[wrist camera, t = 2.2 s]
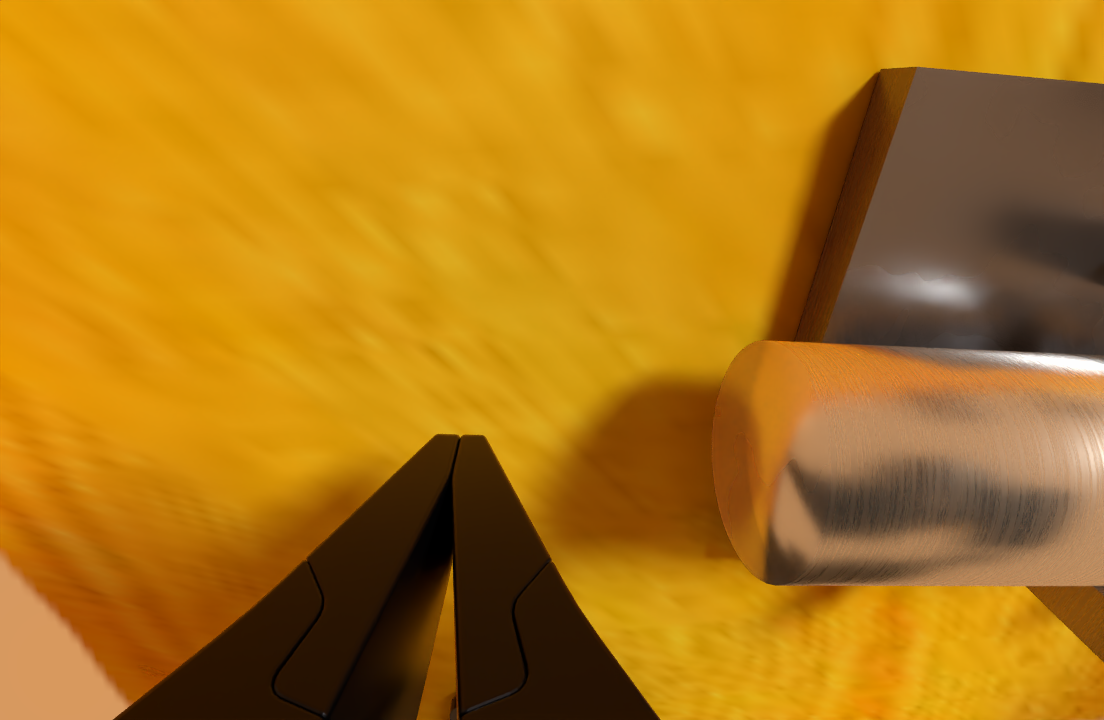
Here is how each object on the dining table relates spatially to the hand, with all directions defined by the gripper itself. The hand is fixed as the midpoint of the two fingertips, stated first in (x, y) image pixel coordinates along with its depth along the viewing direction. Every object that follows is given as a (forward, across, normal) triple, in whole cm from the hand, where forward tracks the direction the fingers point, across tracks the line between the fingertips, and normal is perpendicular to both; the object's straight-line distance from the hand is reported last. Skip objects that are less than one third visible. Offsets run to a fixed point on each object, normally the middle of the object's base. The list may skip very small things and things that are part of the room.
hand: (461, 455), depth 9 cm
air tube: (+2, -14, 0) cm, 14 cm away
